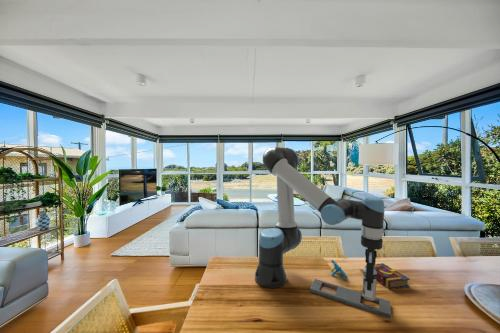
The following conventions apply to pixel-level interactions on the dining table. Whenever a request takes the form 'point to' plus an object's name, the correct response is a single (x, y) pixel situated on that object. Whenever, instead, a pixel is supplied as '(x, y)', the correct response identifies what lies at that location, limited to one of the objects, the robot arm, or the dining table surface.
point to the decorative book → (390, 277)
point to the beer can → (373, 285)
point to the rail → (349, 297)
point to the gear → (337, 269)
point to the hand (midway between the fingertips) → (368, 293)
